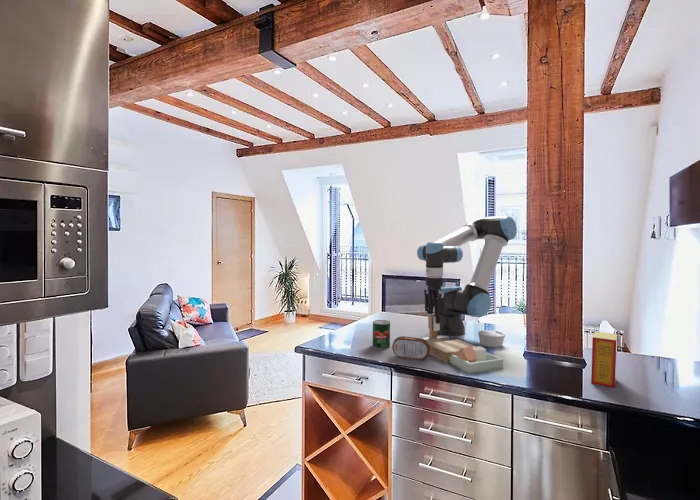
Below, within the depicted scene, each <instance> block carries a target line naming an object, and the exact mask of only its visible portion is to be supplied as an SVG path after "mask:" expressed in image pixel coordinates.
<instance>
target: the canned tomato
mask: <svg viewBox="0 0 700 500" xmlns="http://www.w3.org/2000/svg"><path fill="white" fill-rule="evenodd" d="M390 347H391V321H389V320H385V319H377V320H373V321H372V348H373V349H379V350H385V349H389V348H390Z"/></svg>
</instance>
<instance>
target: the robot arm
mask: <svg viewBox="0 0 700 500" xmlns="http://www.w3.org/2000/svg"><path fill="white" fill-rule="evenodd" d="M517 229H518V228H517V224H516V221H515V219H514V218H512V217H511V216H504V215H502V216H482V217H480V218H477V219H475V220H472V221H469V222H468V223H466V224H464V225H463V226H462V227H461V228H460V229H458V230H455V231H454V232H453V233H450V234H448V235H446V236H444V237H442V238H440V239H438V240H437V241H433V242H432V241H430V242H427V243H426V244H424V245H419V246H418V248H417V250H416V255H417V258H418V259H419V260H420V261H424V262H425V276H426V277H425V286H426V287H427V288H426V289H424V290H423V295H424V311H425V312H426V313H427V321H428V322H427V329H429V319H430V315H433V316H434V319H433V331H438V334H441V335H445V336H460V335H464V334H465V332H466V327H465V324H464V321H463V318H462V315H464V316H469V317H472V318H482V317H484V316H486V315H487V314H488V313H489V311H490V309H491V308H492V307H491V306H492V299H491V296H490V291H489V287H490V283H491V280H492V278H493V276H494V272H495V271H496V267H497V265H498V264H497V263H499V262H498V261H499V259H500V256H501V252H502V251H503V248H504V247H507V245H508V242H509V240H510V241H511V240H514V239H515V238H516V237H517V232H518V230H517ZM476 240H484V245H483V247H482V251H481V253H480V256H479V258H478V261H477V264H476V267H475V269H474V271H473V274H472V277H471V279H470V282H469V283H466V285H465V287H464V289H463V288H462V286H458V285H457V286H456V285H455V286H444V278H443V277H444V264H450V263H452V264H453V263H459V262H460V261H462V259H463V257H464V254H463V250H462V248H461V246H462V245H464V244H466V243H468V242H474V241H476ZM442 286H444V287H442Z"/></svg>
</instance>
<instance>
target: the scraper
mask: <svg viewBox="0 0 700 500" xmlns="http://www.w3.org/2000/svg"><path fill="white" fill-rule="evenodd" d="M433 319H434V316H433V315H430V319H429V328H428V329H429V330H428V331H429V333H428V334H429V336H427V337H421V338H422V339H424V340H426V341H427V342H428V343H432V342H441V341H449V338H450V337H449V336H448V335H445V334H443V335H438V334H439V333H438V331H433Z"/></svg>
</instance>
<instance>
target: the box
mask: <svg viewBox="0 0 700 500" xmlns="http://www.w3.org/2000/svg"><path fill="white" fill-rule="evenodd" d="M449 364H451V365H453V366H455V367H456V368H458V369H460V370H462V371H464V372H466V373H468V374H469V375H470V374H472V375H473V374H479V373H483V372H484V373H485V372H489V371H490V372H491V371H496V370H501V369H502V370H504V358H502V357H499V356H497V355H495V354H492V353H489V352H487V351H486V361H480V362H474V363H470V362H468V361H466V360H464V359H462V358H459V357H458V356H455V355H452V357H450V362H449Z"/></svg>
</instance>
